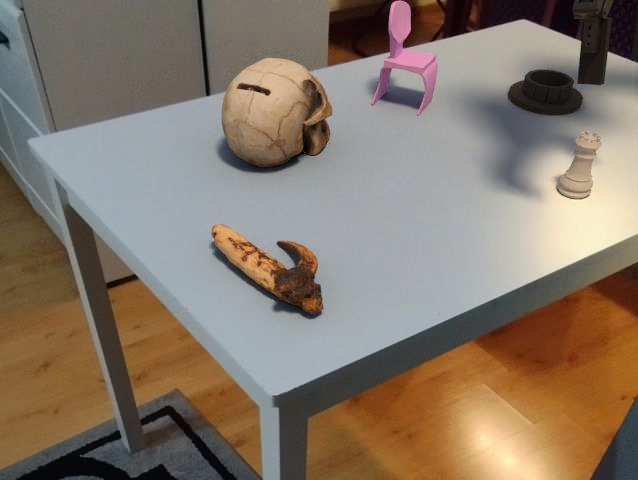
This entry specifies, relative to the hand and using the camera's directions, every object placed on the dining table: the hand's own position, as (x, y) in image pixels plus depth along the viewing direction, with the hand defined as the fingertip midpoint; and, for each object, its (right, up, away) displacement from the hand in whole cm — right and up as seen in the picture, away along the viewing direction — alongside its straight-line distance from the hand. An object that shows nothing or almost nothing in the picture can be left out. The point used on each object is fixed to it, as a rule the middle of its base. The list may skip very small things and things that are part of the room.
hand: (618, 71), depth 78 cm
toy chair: (-21, +8, +34) cm, 40 cm away
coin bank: (-40, -2, +22) cm, 45 cm away
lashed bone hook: (-39, -23, -1) cm, 46 cm away
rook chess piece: (0, -11, +14) cm, 18 cm away
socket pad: (+3, +10, +36) cm, 37 cm away
